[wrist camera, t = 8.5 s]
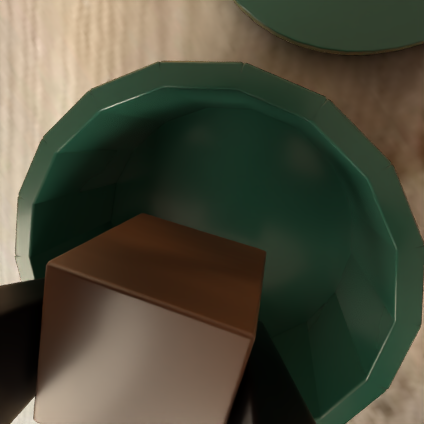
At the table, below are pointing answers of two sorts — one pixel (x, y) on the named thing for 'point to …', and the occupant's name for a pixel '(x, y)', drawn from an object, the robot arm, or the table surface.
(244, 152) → the tin
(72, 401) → the block
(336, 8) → the lid
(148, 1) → the table surface
